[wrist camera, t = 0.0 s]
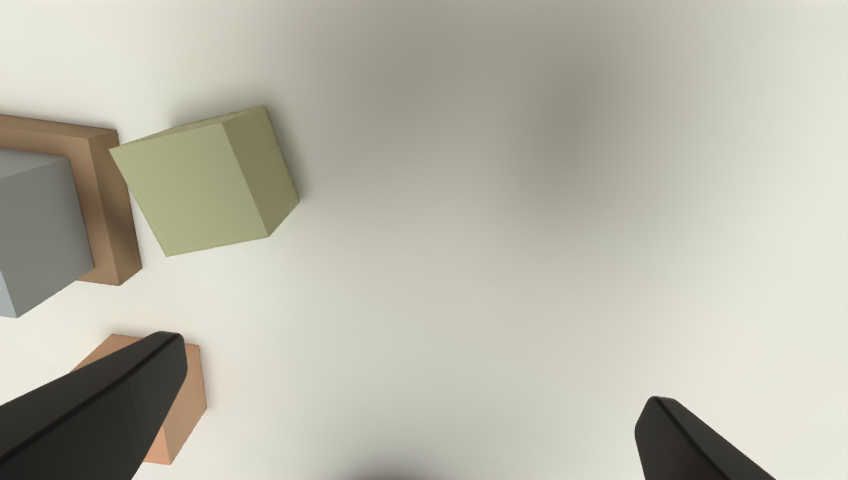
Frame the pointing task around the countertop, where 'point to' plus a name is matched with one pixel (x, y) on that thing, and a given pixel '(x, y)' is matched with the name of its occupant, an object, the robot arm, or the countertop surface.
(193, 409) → the terracotta block
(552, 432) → the countertop surface
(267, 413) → the countertop surface
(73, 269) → the grey block
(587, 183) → the countertop surface
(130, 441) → the robot arm
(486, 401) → the countertop surface
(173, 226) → the olive block
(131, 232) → the walnut slab
